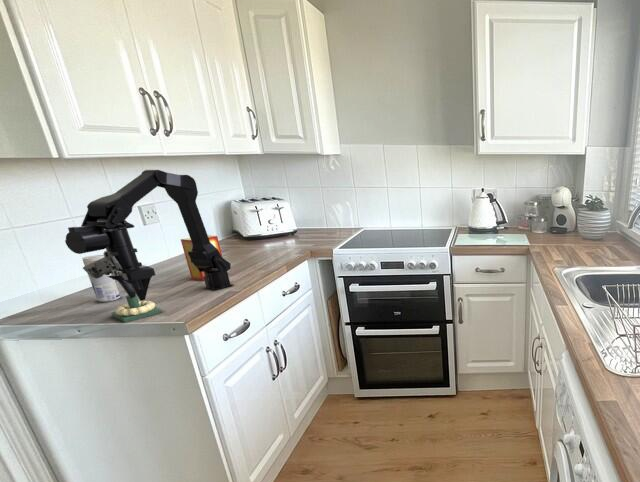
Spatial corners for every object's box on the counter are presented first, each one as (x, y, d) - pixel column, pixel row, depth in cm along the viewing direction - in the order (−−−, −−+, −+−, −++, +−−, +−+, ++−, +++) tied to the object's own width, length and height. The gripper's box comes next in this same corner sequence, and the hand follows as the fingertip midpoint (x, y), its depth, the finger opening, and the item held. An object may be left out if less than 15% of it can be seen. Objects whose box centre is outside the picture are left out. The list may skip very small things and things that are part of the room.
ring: (148, 304, 131) (146, 298, 130) (161, 309, 127) (159, 303, 126) (111, 313, 124) (109, 307, 123) (124, 318, 119) (121, 312, 119)
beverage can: (125, 297, 141) (110, 254, 136) (108, 302, 136) (92, 258, 131) (110, 296, 142) (94, 254, 136) (93, 302, 136) (76, 258, 131)
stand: (149, 307, 132) (142, 289, 129) (161, 312, 127) (155, 293, 125) (112, 316, 124) (105, 297, 122) (124, 322, 120) (117, 302, 118)
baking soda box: (203, 280, 159) (191, 239, 153) (191, 279, 161) (180, 238, 156) (226, 274, 167) (217, 235, 162) (215, 272, 169) (205, 234, 164)
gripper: (68, 249, 114) (89, 303, 119) (93, 254, 105) (115, 311, 110) (119, 242, 123) (137, 292, 128) (147, 246, 114) (164, 299, 119)
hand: (137, 298), depth 121 cm, fingers open, 6 cm apart
